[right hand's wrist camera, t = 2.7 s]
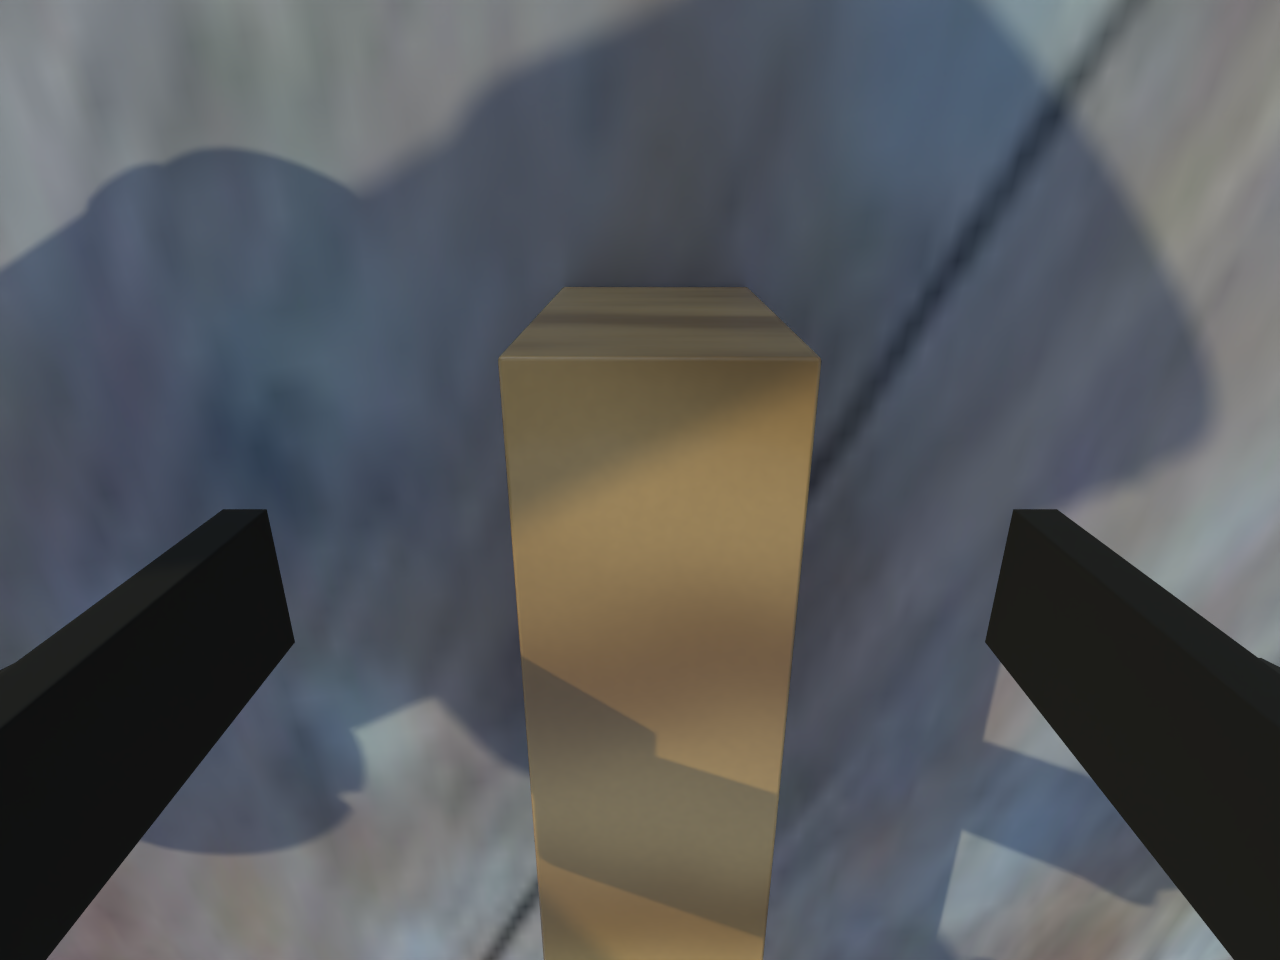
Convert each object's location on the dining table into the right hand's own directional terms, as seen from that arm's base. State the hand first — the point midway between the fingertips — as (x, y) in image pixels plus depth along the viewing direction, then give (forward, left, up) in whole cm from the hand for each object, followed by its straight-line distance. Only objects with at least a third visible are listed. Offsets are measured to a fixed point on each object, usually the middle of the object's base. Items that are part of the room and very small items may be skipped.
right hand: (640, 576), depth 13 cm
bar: (0, +7, -9) cm, 11 cm away
